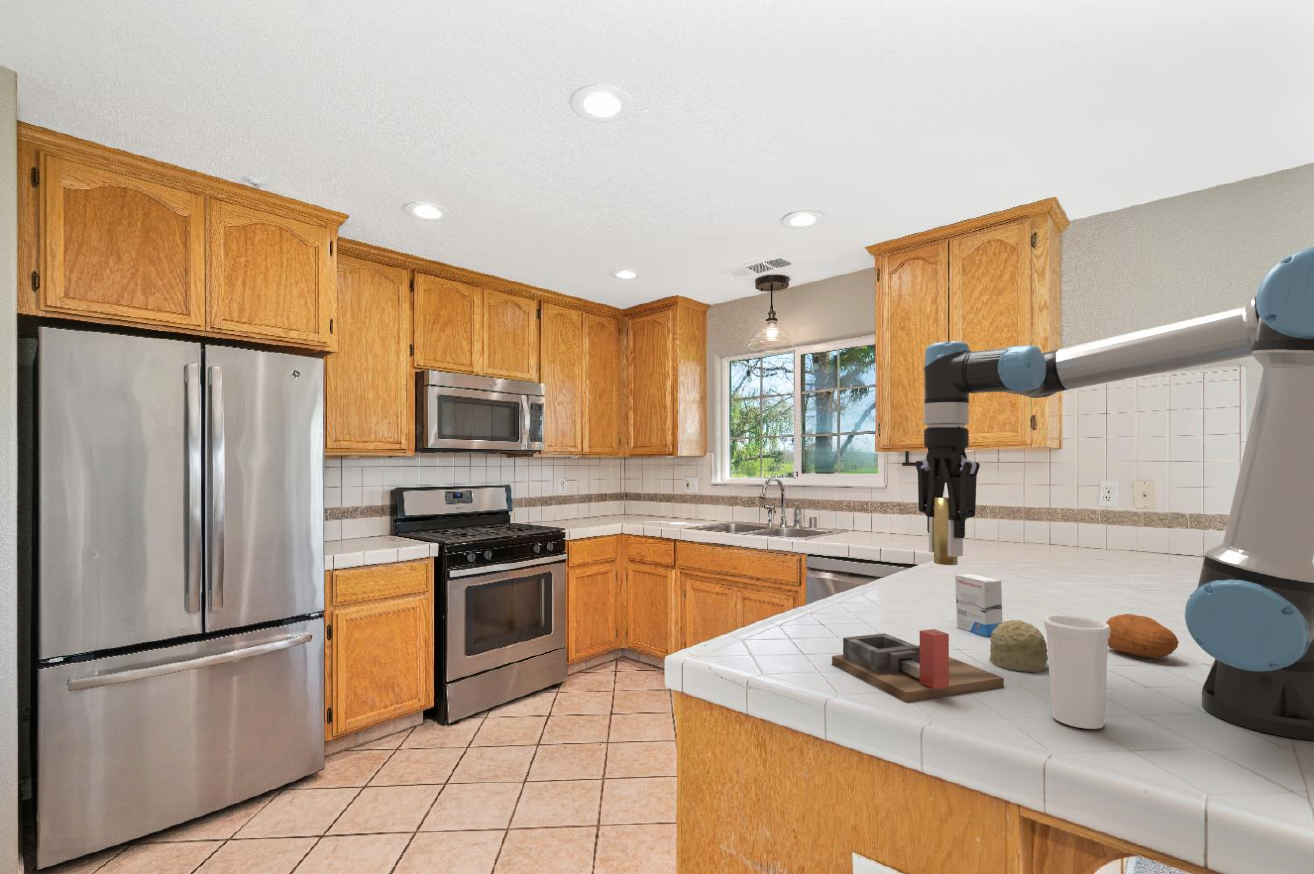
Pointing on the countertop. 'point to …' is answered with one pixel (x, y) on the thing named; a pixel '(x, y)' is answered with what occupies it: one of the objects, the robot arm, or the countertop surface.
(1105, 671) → the cup
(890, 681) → the mount
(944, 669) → the pin
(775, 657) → the countertop surface
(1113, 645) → the potato
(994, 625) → the ink box
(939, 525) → the upright brass rod
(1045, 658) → the decorative object
